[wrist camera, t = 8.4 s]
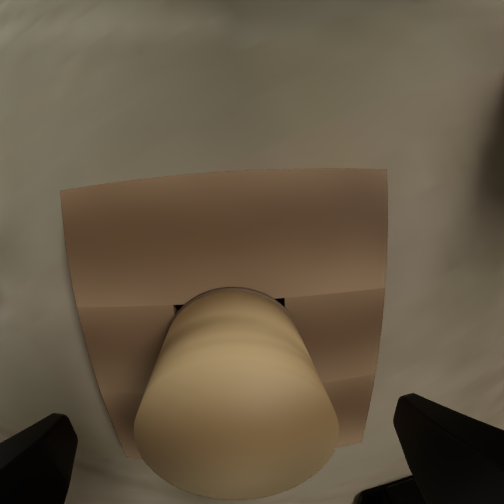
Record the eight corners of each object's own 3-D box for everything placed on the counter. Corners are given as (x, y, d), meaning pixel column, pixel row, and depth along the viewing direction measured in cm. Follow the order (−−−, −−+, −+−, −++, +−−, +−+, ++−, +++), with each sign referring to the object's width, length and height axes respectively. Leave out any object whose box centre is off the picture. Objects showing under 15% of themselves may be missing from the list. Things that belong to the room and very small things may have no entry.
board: (344, 408, 16) (361, 442, 13) (138, 422, 15) (126, 457, 13) (356, 171, 13) (386, 169, 11) (92, 188, 13) (60, 190, 10)
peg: (288, 361, 15) (329, 489, 7) (185, 368, 15) (158, 499, 7) (286, 261, 14) (351, 351, 6) (170, 269, 14) (106, 366, 6)
